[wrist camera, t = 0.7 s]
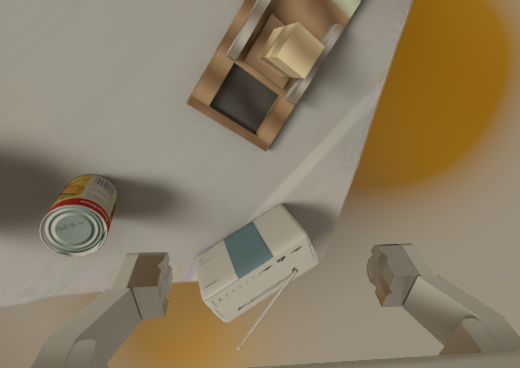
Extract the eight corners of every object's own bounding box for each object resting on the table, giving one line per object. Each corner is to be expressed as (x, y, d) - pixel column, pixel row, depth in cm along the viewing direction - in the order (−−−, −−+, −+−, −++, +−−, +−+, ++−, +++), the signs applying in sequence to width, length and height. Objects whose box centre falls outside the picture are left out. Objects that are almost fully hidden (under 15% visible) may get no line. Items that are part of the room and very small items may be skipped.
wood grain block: (281, 88, 51) (306, 94, 42) (243, 60, 47) (262, 60, 39) (307, 46, 50) (338, 43, 41) (270, 14, 46) (296, 3, 38)
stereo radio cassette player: (278, 198, 62) (327, 253, 44) (293, 226, 66) (343, 287, 48) (191, 253, 60) (205, 333, 42) (212, 278, 64) (232, 361, 46)
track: (262, 148, 56) (271, 155, 52) (186, 102, 49) (189, 106, 45) (379, -37, 51) (400, -46, 46) (312, -120, 43) (329, -140, 39)
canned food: (54, 202, 49) (26, 241, 38) (82, 164, 48) (60, 194, 37) (101, 224, 52) (86, 265, 42) (127, 190, 52) (119, 223, 41)
